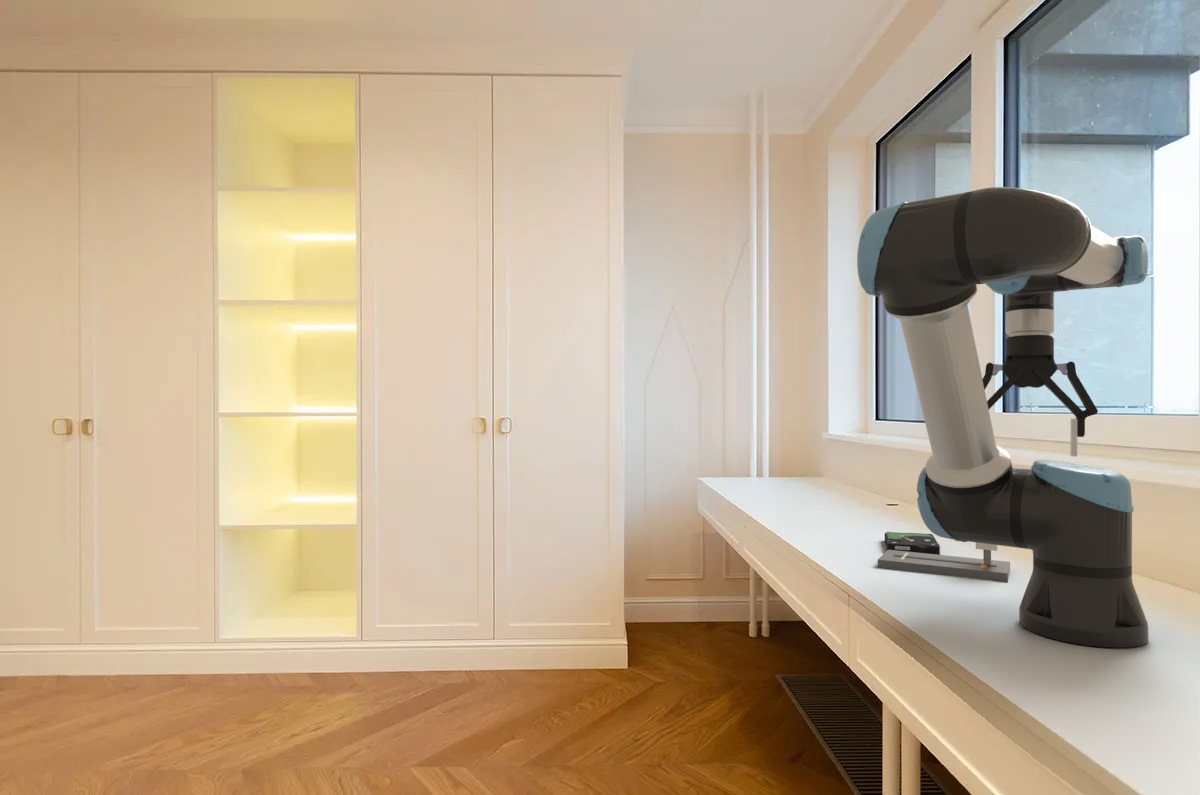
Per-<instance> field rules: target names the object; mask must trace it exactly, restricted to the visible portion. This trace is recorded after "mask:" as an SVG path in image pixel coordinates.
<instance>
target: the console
mask: <svg viewBox="0 0 1200 795" xmlns="http://www.w3.org/2000/svg"><path fill="white" fill-rule="evenodd" d="M877 568H881V569H889V570H898V571H907V572H908V571H909V572H915V573H916V572H918V573H926V574H935V575H944V576H952V577H953V576H954V577H961V578H962V577H963V578H969V579H971V578H972V579H981V580H988V581H996V582H1006V583H1008V581H1009V579H1010V578H1009V576H1010V572H1011V561H1007V560H1006V561H1004V560H996V559H991V565H990V564H983V558H975V557H967V556H966V557H965V556H955V555H945V554H944V555H943V554H940V555H937V554H926V553H916V552H906V551H896V550H887V549H886V551H885V552H884V553H883V554H882V555H881V556H880V557H879V558H878V559H877Z"/></svg>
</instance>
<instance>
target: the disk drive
mask: <svg viewBox="0 0 1200 795" xmlns="http://www.w3.org/2000/svg"><path fill="white" fill-rule="evenodd" d="M884 544H885V548H886V547H887V548H886V551H887V550H896V551H906V552H916V553H926V554H937V555H941V545H940V544H939V542H938V541H937V540H936V538H935V536H934V534H933V533H922V532H920V533H919V532H918V533H917V532H896V531H894V532H892V531H886V532H885V533H884Z"/></svg>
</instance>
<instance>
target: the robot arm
mask: <svg viewBox="0 0 1200 795" xmlns="http://www.w3.org/2000/svg"><path fill="white" fill-rule="evenodd" d="M857 246H858V247H857V254H856V256H857V258H856V263H857V264H856V265H857V268H856V269H857V275H858V280H859V283H860V286H861V288H862V289H863V291H865V293H866V294H867V295H868V296H869V295H870V296H873V297H880V296H881V297H882V301H883V305H884V309H885V312H886V313H887V314H888V315H889V316H891V317H894V318H895V319H898V320H899V321H900V324H901V330H902V333H903V336H904V337H903V338H904V342H905V346H906V350H907V354H908V358H909V362H910V366H911V370H912V375H913V378H914V381H915V386H916V390H917V395H918V399H919V402H920V407H921V410H922V416H923V419H924V424H925V428H926V432H927V435H928V440H929V444H930V449H931V452H932V455H930V456H929V458H928V459H927V460H926V463H925V466H924V467H923V468H922V470H921V472H920V473H919V476H918V479H917V484H916V492H917V495H918V497H917V498H916V501H917V506H918V512H919V514H920V517H921V519H922V521H923V523H924V525H925V527H927V529H928V530H929V531H930V532H931V534H933V535H935V536H938V537H940V538H944V539H948V540H954V541H955V542H962V543H968V542H970V543H976V542H977V543H986V544H993V545H999V546H1002V547H1010V548H1016V549H1024V550H1031V551H1032V555H1033V556H1032V573H1031V575H1030V578H1029V580H1028V583H1027V586H1026V589H1025V591H1024V593H1023V596H1022V599H1021V601H1020V603H1019V608H1018V614H1019V615H1018V621H1019V622H1018V623H1019V624H1020V626H1022V627H1023V628H1025V629H1026V630H1028V631H1030V632H1032V633H1034V634H1037V635H1040V636H1044V637H1045V638H1050V639H1053V640H1057V641H1061V642H1066V643H1071V644H1075V645H1076V644H1078V645H1083V646H1090V647H1091V646H1092V647H1102V648H1135V647H1139V646H1143V645H1145V644H1147V643H1148V642H1149V624H1148V621H1147V618H1146V615H1145V612H1144V609H1143V607H1142V605H1141V602H1140V600H1139V596H1138V594H1137V591H1136V589H1135V586H1134V583H1133V512H1134V510H1135V508H1134V505H1133V500H1132V488H1131V487H1132V486H1131V483H1130V480H1129V479H1128V478H1127V477H1126V476H1125V475H1123V474H1122V473H1120V472H1118V471H1114V470H1111V469H1108V468H1104V467H1100V466H1099V467H1098V466H1094V465H1089V464H1083V463H1077V462H1076V463H1075V462H1069V461H1059V460H1058V461H1057V460H1051V459H1049V460H1048V459H1038V460H1035V461H1034V462H1033V463H1032V465H1031V468H1029V469H1027V468H1017V467H1016V468H1014V467H1013V464H1012V460H1011V456H1010V454H1009V452H1008V451H1007V450H1006V449H1004V447H1001V446H1000V445H998V444H996V440H995V434H994V430H993V429H994V428H993V424H992V420H991V415H990V409H991V408H992V407H994V405H995V404H996V403H997V402H998V401H999V400H1000V399H1001V398H1002V397H1003V396H1004V395H1005V394H1006V393H1007V392H1008V390H1010V389H1011V388H1012V387H1013V386H1015V387H1016V388H1020V389H1025V388H1029V387H1030V388H1032V389H1033V388H1034V389H1035V388H1036V389H1037V388H1042V387H1044V386H1045V387H1046V388H1047V389H1048V390H1049V391H1050V392H1051V393H1052V394H1053V395H1054V396H1055V397H1056V398H1057V399H1058V400H1059V401H1060V402H1061V403H1062V404H1063V405H1064V406H1065V407H1066V408H1067V409H1068V410H1069V411H1070V413H1071V414H1073V415H1074V416H1075V418H1070V456H1071V457H1078V438H1084V436H1085V435H1086V434H1085V433H1086V419H1087V418H1088V417H1092V416H1094V415H1097V414H1098V413H1099V410H1098V408H1097V407H1096V405H1095V403H1094V401H1093V400H1092V398H1091V396H1090V395H1089V394H1088V392H1087V389H1086V388H1085V386H1084V385H1083V383H1082V381H1081V380H1080V378H1079V376H1078V375H1077V371H1076V364H1075V361H1068V362H1064V363H1056V362H1055V338H1054V337H1053V336H1052V335H1051V334H1053V333H1054V332H1055V293H1057V292H1068V291H1078V290H1079V291H1080V290H1091V289H1102V288H1115V287H1116V288H1122V287H1125V286H1132V285H1138V284H1141V283H1144V281H1145V279H1146V278H1147V275H1148V268H1149V267H1148V266H1149V256H1148V254H1149V253H1148V247H1147V243H1146V239H1145V238H1144V237H1143V236H1140V235H1130V236H1129V235H1128V236H1124V235H1121V236H1117V237H1113V238H1112V237H1110V236H1109V235H1107V234H1106V233H1104V232H1102V231H1101V230H1099V229H1097V228H1096V227H1094V226H1092V225H1091V222H1090V219H1089V217H1088V215H1087V214H1086V213H1085V211H1084V210H1083V209H1082V208H1080V207H1079V206H1078V205H1076V204H1075V203H1073V202H1071V201H1069V200H1067V199H1065V198H1063V197H1061V196H1058V195H1053V194H1051V193H1048V192H1047V193H1046V192H1043V191H1039V190H1033V189H1029V188H1020V187H1007V186H994V187H993V186H991V187H985V188H980V189H979V188H978V189H975V190H970V191H965V192H960V193H955V194H949V195H944V196H939V197H933V198H927V199H920V200H915V201H911V202H910V201H909V202H908V201H903V202H901V203H900V204H896V205H892V206H889V207H884V208H880V209H878V210H876V211H875V212H873V213H872V214H871V215H870V216H869V217H868V219H867V220H866V221H865V223H864V225H863V227H862V230H861V232H860V237H859V242H858V244H857ZM983 284H985V285H986V286H987V287H988V288H989V289H991V290H992V292H994V293H996V294H997V295H1001V296H1005V328H1004V329H1005V331H1004V332H1005V334H1006V335H1008V337H1006V339H1005V340H1004V341H1005V345H1004V346H1005V348H1004V352H1005V353H1004V354H1005V356H1004V362H1003V363H1002V364H999V363H996V364H995V363H992V362H988V363H986V365H985V371H984V375H983V376H982V371H981V365H980V362H979V357H978V356H979V355H978V351H977V345H976V342H975V336H974V330H973V327H972V322H971V321H972V320H971V317H970V311H969V306H968V304H969V303H970V302H971V300H973V298H974V297H975V296H976V294H977V292H978V287H977V286H978V285H983ZM1000 371H1002V373H1003V374H1004V375H1005V376H1006V377H1007V380H1006V381H1005V382H1004V383H1003V384H1002V385H1001V386H1000V387H999V388H998V389H997V390H996V391H995V392H994V393H993V395H991V397H989V399H988V400H987V395H986V394H987V393H986V389H987V387H988V385H989V383H990V382H991V380H992V377H993V376H997V375H998V373H999V372H1000ZM1057 371H1060V373H1061V374H1062V375H1063V376H1066V377H1067V379H1068V381H1069V383H1070V385H1071V386H1072V388H1073V389H1074V391H1075V393H1076V395H1077V396H1078V398H1079V400H1080V402H1081V404H1082V405H1083V407H1084V409H1083V410H1082V408H1080V406H1078V405H1077V404H1076V403H1075V402H1074V401H1073V400H1072V399H1071V398H1070V396H1069V395H1067V394H1066V393H1065V392H1064V391H1063V390H1062V388H1060V387H1059V385H1058V384H1057V383H1056V382H1055V381H1054V380H1053V379H1052V376H1053V375H1054V374H1055V373H1056V372H1057Z"/></svg>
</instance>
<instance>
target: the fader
mask: <svg viewBox="0 0 1200 795" xmlns="http://www.w3.org/2000/svg"><path fill="white" fill-rule="evenodd" d="M999 546H1000V545H993V544H986V543H977V542H975V549H976V550H982V552H983V558H982V559H983V564H990V565H991V560H992V551H995V552H997V551H998V549H999Z"/></svg>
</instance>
